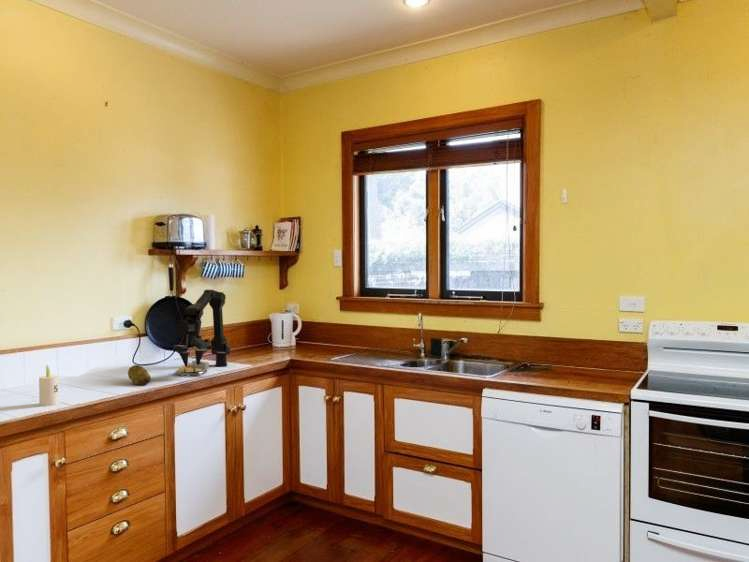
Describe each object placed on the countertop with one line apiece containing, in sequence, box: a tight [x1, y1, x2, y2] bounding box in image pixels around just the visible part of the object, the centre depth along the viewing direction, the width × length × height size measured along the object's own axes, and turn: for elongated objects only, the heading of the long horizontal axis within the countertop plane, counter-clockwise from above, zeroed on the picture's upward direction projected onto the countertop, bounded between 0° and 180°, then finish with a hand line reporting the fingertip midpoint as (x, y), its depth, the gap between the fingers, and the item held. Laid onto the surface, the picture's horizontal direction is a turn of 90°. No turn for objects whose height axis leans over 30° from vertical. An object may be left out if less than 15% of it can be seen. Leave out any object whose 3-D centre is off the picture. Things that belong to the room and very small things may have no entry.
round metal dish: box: [174, 367, 208, 377], centre depth 282 cm, size 15×15×3 cm
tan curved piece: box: [178, 359, 210, 372], centre depth 281 cm, size 18×11×5 cm, turn 55°
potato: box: [127, 364, 152, 386], centre depth 257 cm, size 8×13×8 cm, turn 34°
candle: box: [38, 365, 59, 407], centre depth 219 cm, size 6×6×15 cm
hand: (192, 365), depth 274 cm, fingers open, 7 cm apart
